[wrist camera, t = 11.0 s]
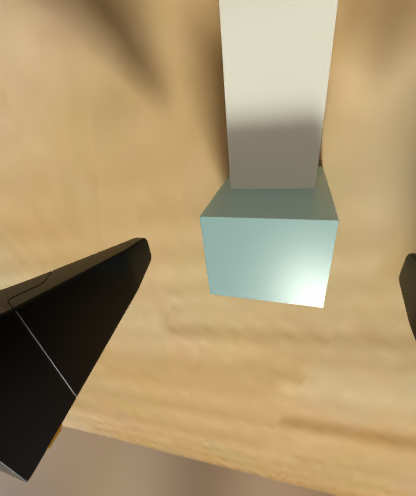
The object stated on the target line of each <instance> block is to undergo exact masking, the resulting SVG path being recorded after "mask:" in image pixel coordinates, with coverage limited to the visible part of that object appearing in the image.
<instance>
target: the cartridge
mask: <svg viewBox="0 0 416 496" xmlns="http://www.w3.org/2000/svg"><path fill="white" fill-rule="evenodd" d="M337 4H338V0H219V6H220V22H221V39H222V55H223V72H224V88H225V105H226V121H227V138H228V154H229V171H230V175H229V177H228V178H227V179H226V181H225V182H224V184H223V185H222V186H221V188H220V189H219V191H218V192H217V193H216V195H215V196H214V197H213V199H212V200H211V202H210V203H209V204H208V206H207V207H206V209H205V210H204V211H203V213H202V214H201V216H200V222H201V229H202V237H203V244H204V252H205V259H206V267H207V274H208V282H209V289H210V294H214V295H223V296H231V297H239V298H247V299H256V300H264V301H272V302H280V303H288V304H297V305H305V306H313V307H321V308H323V305H324V299H325V294H326V288H327V283H328V277H329V272H330V266H331V261H332V255H333V250H334V244H335V239H336V233H337V228H338V222H339V220H338V216H337V213H336V209H335V206H334V203H333V199H332V196H331V193H330V189H329V186H328V183H327V179H326V176H325V173H324V169H323V166H318V162H319V154H320V146H321V137H322V129H323V121H324V112H325V104H326V96H327V87H328V79H329V71H330V62H331V54H332V46H333V37H334V29H335V21H336V12H337Z"/></svg>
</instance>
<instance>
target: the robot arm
mask: <svg viewBox="0 0 416 496" xmlns="http://www.w3.org/2000/svg"><path fill="white" fill-rule="evenodd" d="M150 261H151V253H150V249H149V245H148V242H147V240H146V239H145V238H134V239H131V240H129V241H126V242H124V243H121V244H119V245H116V246H114V247H111V248H108V249H106V250H103V251H101V252H98V253H96V254H93V255H91V256H88V257H86V258H83V259H81V260H78V261H76V262H73V263H71V264H68V265H66V266H63V267H61V268H58V269H56V270H53V271H50V272H48V273H45V274H43V275H40V276H38V277H35V278H32V279H30V280H27V281H25V282H22V283H19V284H16V285H14V286H11V287H8V288H5V289H2V290H0V471H2V472H5V473H7V474H9V475H11V476H13V477H16V478H18V479H20V480H22V481H25V482H27V481H28V480H29V478H30V477H31V476H32V474H33V473H34V471H35V469H36V467H37V466H38V464H39V462H40V460H41V459H42V457H43V455H44V453H45V452H46V450H47V448H48V446H49V445H50V443H51V441H52V439H53V438H54V436H55V434H56V433H57V431H58V429H59V427H60V426H61V424H62V422H63V420H64V419H65V417H66V415H67V413H68V412H69V410H70V408H71V406H72V405H73V403H74V401H75V399H76V397H77V396H78V394H79V392H80V390H81V389H82V387H83V385H84V383H85V382H86V380H87V378H88V376H89V375H90V373H91V371H92V369H93V368H94V366H95V364H96V362H97V361H98V359H99V357H100V355H101V354H102V352H103V350H104V348H105V347H106V345H107V343H108V341H109V340H110V338H111V336H112V334H113V333H114V331H115V329H116V328H117V326H118V324H119V322H120V321H121V319H122V317H123V315H124V314H125V312H126V310H127V308H128V307H129V305H130V303H131V301H132V300H133V298H134V296H135V294H136V292H137V291H138V288H139V286H140V284H141V282H142V280H143V277H144V275H145V273H146V270H147V268H148V266H149V264H150ZM399 282H400V287H401V291H402V295H403V299H404V303H405V308H406V312H407V316H408V320H409V323H410V326H411V329H412V332H413V335H414V337H415V340H416V253H410V254H408V255H407V257H406V259H405V262H404V264H403V267H402V270H401V272H400V276H399Z"/></svg>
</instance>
